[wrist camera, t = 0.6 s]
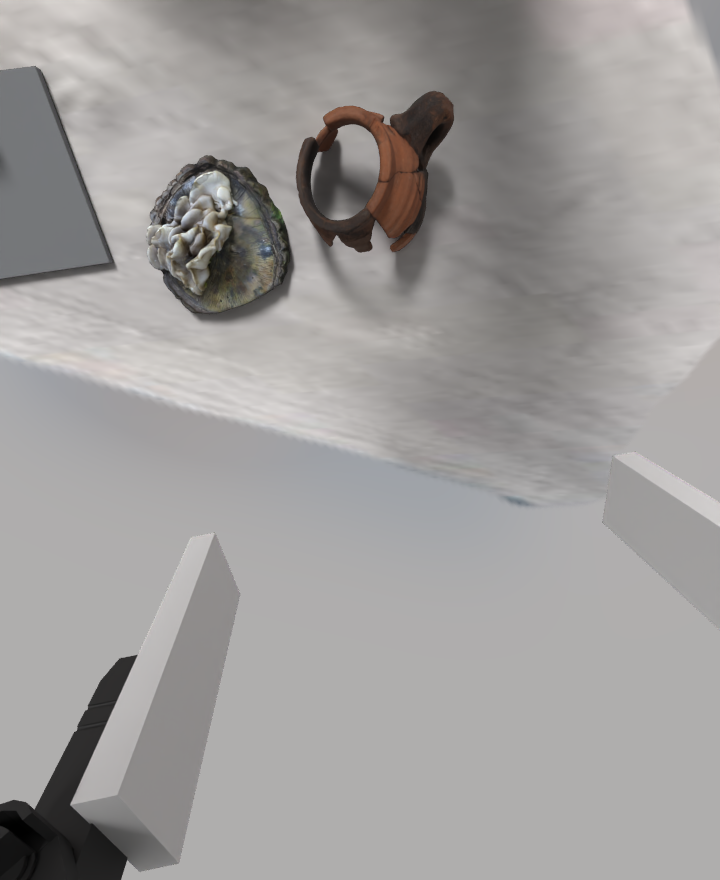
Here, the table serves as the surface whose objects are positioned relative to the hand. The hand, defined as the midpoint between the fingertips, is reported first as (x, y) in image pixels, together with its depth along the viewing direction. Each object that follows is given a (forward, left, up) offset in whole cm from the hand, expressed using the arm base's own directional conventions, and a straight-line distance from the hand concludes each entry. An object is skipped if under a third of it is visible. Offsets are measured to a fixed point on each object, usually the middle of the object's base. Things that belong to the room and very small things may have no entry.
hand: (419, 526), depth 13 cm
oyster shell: (-11, -9, -27) cm, 30 cm away
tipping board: (-17, -25, -26) cm, 40 cm away
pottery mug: (-13, +4, -27) cm, 30 cm away
